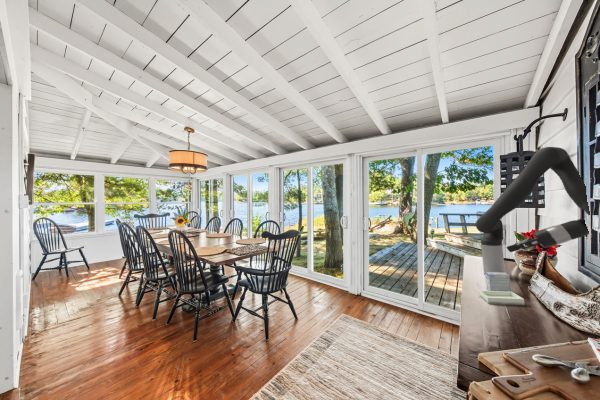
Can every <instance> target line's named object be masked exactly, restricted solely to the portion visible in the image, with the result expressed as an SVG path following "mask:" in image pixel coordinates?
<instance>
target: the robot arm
mask: <svg viewBox="0 0 600 400" xmlns="http://www.w3.org/2000/svg"><path fill="white" fill-rule="evenodd" d="M549 169H550V170H551V171H553V172H554V173H555V174H556V175H557V176H558V178H559V179H560V181H561V183H562V185H563V187H564V189H565V190H564V191H566V194H567V195H568V196H569V198H570V199H571V200H572V202H573V203H574V204H575V205H576V206H577V207H578V208H579V209H581V210H583V211H584V212H585V213H586V214H587V216H589V215H590V211H589V206H588V202H587V195H586V186H585V184H584V182H583V180H582V178H581V177H580V175H579V173H580V172H579V170H578V168H577V167H576V165H575V164H574V162H573V160H572V158H571V156H570V155H569V153H568V152H567V150H566V149H564V148H561V147H557V146H546V147H542V148H539V149H538V150H537V151H535V153H534V154H533V155H532V157H531V158H530V160H529V161H528V162H527V164H526V165H525V166H524V168H523V169H522V171H521V172H520V173H519V174H518V175H517V176H516V177H515V179H513V181H512V182H511V183H510V184H509V185H508V186H507V187H506V188H505V189H504V191H503V192H502V193H501V194H500V196H499V197H498V198H497V199H496V200H495V201H494V203H493V204H492V205H491V207H489V208H488V210H486V211H485V212H484V213H483V214H481V216H479V217H478V218H477V220H476V222H475V227H476V229H477V231H479V232H481V233H484V235H483V236H482V238H481V239H480V248H481V255H482V256H481V257H482V258H481V259H482V266H483V275H484V276H485V272H501V273H506V270H505V269H506V268H505V258H504V250H503V249H504V248H503V241H504V226H503V221H502V218H503V217H505V216H506V215H507V214H509V213H510V212H512V211H514V210H515V209H517V208H518V207H519V206H521V205H522V204H523V203H524V202H525V201H527V200H528V198H529V197H530V195H531V194H532V193H533V191H534V189H535V188H536V184H537V182H538V181H539V180H540V178H541V177H542V176H544V174H545V173H546V172H547V171H548V170H549ZM588 235H590V234H589V231H588V229H587V227H586V224H585V220H584V217H583V218H578V219H574V220H570V221H567V222H562V223H561V224H557V225H552V226H550V227H545V228H543V229H540V230H536V231H533V236H534V238H532V237H528V238H525V239H524V240H520V241H518V242H515V243H514V244H511V245H507V246H506V249H507V251H509V253H514V252H517V251H519V250H521V251H522V250H527V249H528V250H529V249H530V248H536V247H537V246H539V245H540V246H542V248H544V249H547V248H550V247H554V246H557V245H562V244H564V243H567V242H569V241H572V240H576V239H579V238H583V237H585V236H588Z"/></svg>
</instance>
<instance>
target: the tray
mask: <svg viewBox="0 0 600 400" xmlns="http://www.w3.org/2000/svg"><path fill="white" fill-rule="evenodd" d="M478 296H479V298H481V299H482V300H483V301H484V302H485V303H487V304H489V305H505V306H507V305H508V306H509V305H510V306H525V299H524V298H523V297H522V296H520V295H518V294H516V293H515V292H513V291H511V292H506V291H487V290H478Z"/></svg>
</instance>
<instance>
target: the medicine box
mask: <svg viewBox="0 0 600 400" xmlns="http://www.w3.org/2000/svg"><path fill="white" fill-rule="evenodd" d="M484 276H485V284H486V285H485V287H486V291H506V292H512V285H511V276H510V275H509V274H508V273H507V272H505V273H501V272H485V275H484Z"/></svg>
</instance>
